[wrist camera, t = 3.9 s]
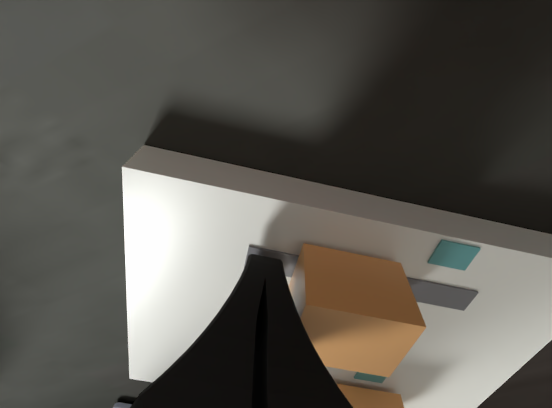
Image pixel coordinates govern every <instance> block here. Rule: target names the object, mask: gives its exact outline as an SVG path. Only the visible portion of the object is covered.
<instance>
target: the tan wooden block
mask: <svg viewBox="0 0 552 408" xmlns="http://www.w3.org/2000/svg"><path fill="white" fill-rule="evenodd" d="M337 385H338V387H339V388H340V390H341V391H342V393H343V394H344V395H345V397H346V398H347V400H348V401H349V402H350V404H351V405H352V406H353V408H404V405H403V402H402V398H401V394H396V393H390V392H384V391H378V390H372V389H366V388H360V387H354V386H348V385H342V384H337Z"/></svg>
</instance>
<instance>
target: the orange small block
mask: <svg viewBox="0 0 552 408" xmlns="http://www.w3.org/2000/svg"><path fill="white" fill-rule="evenodd" d="M289 289H290V292H291V295H292V298H293V301H294V303H295V306H296V309H297V311H298V314H299V316H300V319H301V321H302V323H303V325H304V328H305V330H306V332H307V334H308V336H309V338H310V340H311V342H312V344H313V346H314V348H315V350H316V351H317V353H318V355H319V357H320V358H321V360H322V362H323V364H324V365H325V366H326V367H332V368H338V369H343V370H349V371H355V372H361V373H367V374H372V375H378V376H384V377H390V376H391V374H392V373H393V372H394V370H395V369H396V368H397V366H398V365H399V364H400V362H401V361H402V360H403V358H404V357H405V356H406V354H407V353H408V351H409V350H410V349H411V347H412V346H413V345H414V343H415V342H416V341H417V339H418V338H419V337H420V335H421V334H422V333H423V331H424V330H425V329H426V324H425V322H424V319H423V317H422V314H421V312H420V309H419V307H418V304H417V302H416V299H415V297H414V294H413V292H412V289H411V287H410V284H409V282H408V279H407V277H406V274H405V272H404V269H403V267H402V264H401V263H399V262H394V261H389V260H384V259H379V258H374V257H369V256H364V255H359V254H355V253H350V252H345V251H340V250H335V249H330V248H325V247H320V246H315V245H310V244H305V243H303V246H302V249H301V252H300V255H299V257H298V260H297V263H296V266H295V269H294V272H293V275H292V278H291V281H290V283H289Z"/></svg>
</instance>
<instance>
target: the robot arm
mask: <svg viewBox="0 0 552 408" xmlns="http://www.w3.org/2000/svg"><path fill="white" fill-rule="evenodd" d="M113 408H353V406H352V405H351V404H350V402H349V401H348V400H347V398H346V397H345V395H344V394H343V393H342V391H341V390H340V388H339V387H338V385H337V384H336V382H335V381H334V379H333V378H332V376H331V375H330V373H329V371H328V370H327V368H326V367H325V365H324V364H323V362H322V360H321V358H320V357H319V355H318V353H317V351H316V350H315V348H314V346H313V344H312V342H311V340H310V338H309V336H308V334H307V332H306V330H305V328H304V325H303V323H302V321H301V319H300V316H299V314H298V311H297V309H296V306H295V303H294V301H293V298H292V295H291V292H290V289H289V286H288V283H287V279H286V276H285V272H284V267H283V262H282V261H281V259H276V258H271V257H265V256H260V255H255V254H250V255H248V259H247V262H246V265H245V268H244V270H243V272H242V274H241V276H240V278H239V280H238V282H237V284H236V285H235V287H234V289H233V291H232V292H231V294H230V296H229V297H228V299H227V300H226V302H225V303H224V305H223V306H222V308H221V309H220V310H219V312H218V313H217V315H216V316H215V317H214V319H213V320H212V321H211V322H210V324H209V325H208V326H207V327H206V329H205V330H204V331H203V332H202V333H201V335H200V336H199V337H198V338H197V339H196V340H195V341H194V343H193V344H192V345H191V346H190V347H189V348H188V349H187V350H186V351H185V352H184V353H183V354H182V355H181V356H180V357H179V358H178V359H177V360H176V361H175V362H174V363H173V364H172V365H171V366H170V367H169V368H168V369H167V370H166V371H165V372H164V373H163V374H162V375H161V376H159V377H158V378H157V379H156V380H155V381H154V382H153V383H151V384H150V385H149V386H148V387H147V388H146V389H145V390H143V391H142V392H141V393H140V394H139V396H138V397H137V398H136V400H135V401H134V403H133V404H127V403H120V402H118V403H115V404H114V406H113Z"/></svg>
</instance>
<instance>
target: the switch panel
mask: <svg viewBox="0 0 552 408" xmlns="http://www.w3.org/2000/svg"><path fill="white" fill-rule="evenodd" d="M122 180H123V208H124V236H125V265H126V293H127V321H128V349H129V377H130V379H135V380H141V381H148V382H154V381H155V380H156V379H157V378H158V377H159V376H161V375H162V374H163V373H164V372H165V371H166V370H167V369H168V368H169V367H170V366H171V365H172V364H173V363H174V362H175V361H176V360H177V359H178V358H179V357H180V356H181V355H182V354H183V353H184V352H185V351H186V350H187V349H188V348H189V347H190V346H191V345H192V344H193V343H194V341H195V340H196V339H197V338H198V337H199V336H200V335H201V333H202V332H203V331H204V330H205V329H206V327H207V326H208V325H209V324H210V322H211V321H212V320H213V319H214V317H215V316H216V315H217V313H218V312H219V310H220V309H221V308H222V306H223V305H224V303H225V302H226V300H227V299H228V297H229V296H230V294H231V292H232V291H233V289H234V287H235V285H236V284H237V282H238V280H239V278H240V276H241V274H242V272H243V270H244V268H245V265H246V262H247V259H248V255H250V254H255V255H260V256H265V257H271V258H276V259H281V261H282V262H283V267H284V272H285V276H286V279H287V283H288V286H289V283H290V281H291V278H292V275H293V272H294V269H295V266H296V263H297V260H298V257H299V255H300V252H301V249H302V246H303V243H305V244H310V245H315V246H320V247H325V248H330V249H335V250H340V251H345V252H350V253H355V254H359V255H364V256H369V257H374V258H379V259H384V260H389V261H394V262H399V263H401V264H402V267H403V269H404V272H405V274H406V277H407V279H408V282H409V284H410V287H411V289H412V292H413V294H414V297H415V299H416V302H417V304H418V307H419V309H420V312H421V314H422V317H423V319H424V322H425V324H426V329H425V330H424V331H423V333H422V334H421V335H420V337H419V338H418V339H417V341H416V342H415V343H414V345H413V346H412V347H411V349H410V350H409V351H408V353H407V354H406V356H405V357H404V358H403V360H402V361H401V362H400V364H399V365H398V366H397V368H396V369H395V370H394V372H393V373H392V374H391V376H390V377H384V376H378V375H372V374H367V373H361V372H355V371H349V370H343V369H338V368H332V367H326V366H325V367H326V368H327V370H328V371H329V373H330V375H331V376H332V378H333V379H334V381H335V382H336V384H342V385H348V386H354V387H360V388H366V389H372V390H378V391H384V392H390V393H396V394H401V398H402V402H403V405H404V408H477V407H478V406H479V405H480V404H481V403H482V402H483V401H484V400H485V399H487V398H488V397H489V396H490V395H491V394H492V393H493V392H494V391H495V390H496V389H498V388H499V387H500V386H501V385H502V384H503V383H504V382H505V381H506V380H508V379H509V378H510V377H511V376H512V375H513V374H514V373H515V372H516V371H518V370H519V369H520V368H521V367H522V366H523V365H524V364H525V363H526V362H527V361H529V360H530V359H531V358H532V357H533V356H534V355H535V354H536V353H537V352H539V351H540V350H541V349H542V348H543V347H544V346H545V345H546V344H547V343H548V342H550V341H551V340H552V234H548V233H544V232H539V231H535V230H530V229H525V228H521V227H516V226H512V225H507V224H503V223H498V222H494V221H489V220H484V219H480V218H475V217H471V216H466V215H462V214H457V213H452V212H448V211H443V210H439V209H434V208H430V207H425V206H421V205H416V204H411V203H407V202H402V201H398V200H393V199H389V198H384V197H379V196H375V195H370V194H366V193H361V192H357V191H352V190H348V189H343V188H338V187H334V186H329V185H325V184H320V183H316V182H311V181H306V180H302V179H297V178H293V177H288V176H284V175H279V174H274V173H270V172H265V171H261V170H256V169H252V168H247V167H243V166H238V165H233V164H229V163H224V162H220V161H215V160H211V159H206V158H201V157H197V156H192V155H188V154H183V153H179V152H174V151H170V150H165V149H160V148H156V147H151V146H147V145H143V146H142V147H141V148H140V149H139V150H138V151H137V152H136V153H135V154H134V155H133V156H132V157H131V158H130V159H129V160H128V161H127V162H126V163H125V164H124V165H123V166H122Z"/></svg>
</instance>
